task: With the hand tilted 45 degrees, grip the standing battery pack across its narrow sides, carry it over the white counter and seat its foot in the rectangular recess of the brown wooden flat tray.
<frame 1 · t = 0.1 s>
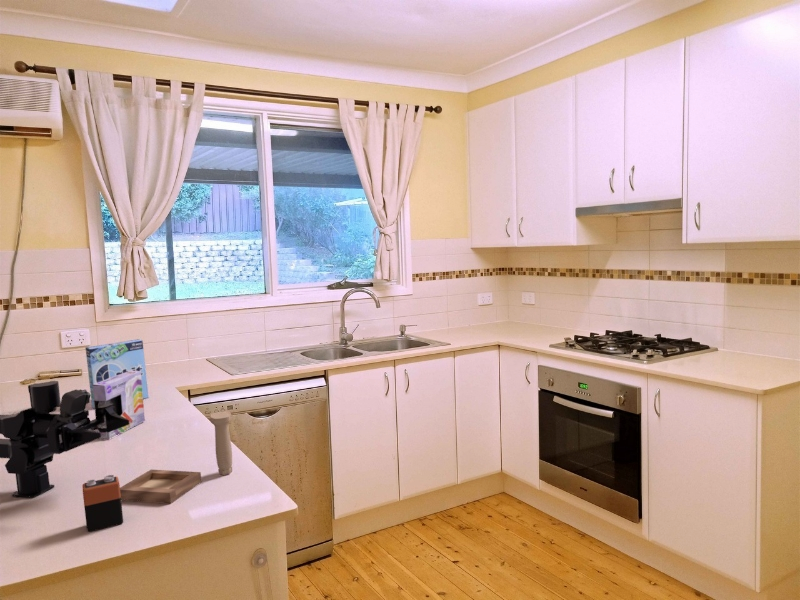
hand: (115, 428, 137), 17 cm above the worktop, tool horizontal, fingers open, 9 cm apart
light blue flat box: (120, 403, 228), on the worktop
battery: (105, 525, 126), on the worktop
handle: (225, 473, 151), on the worktop
brown wooden flat tray: (160, 490, 142), on the worktop
cake pan box: (121, 431, 192), on the worktop
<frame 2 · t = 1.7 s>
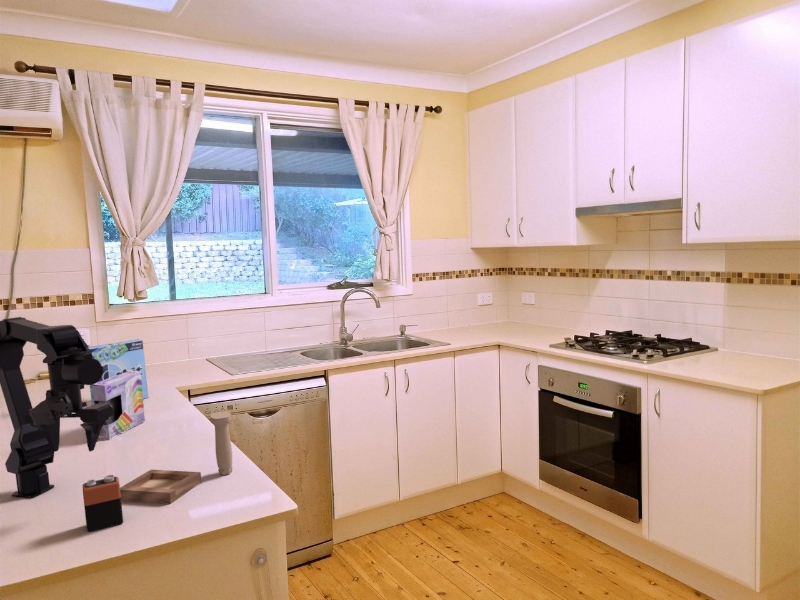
hand: (73, 451, 135), 13 cm above the worktop, tool pointing down, fingers open, 9 cm apart
nothing on the worktop moved.
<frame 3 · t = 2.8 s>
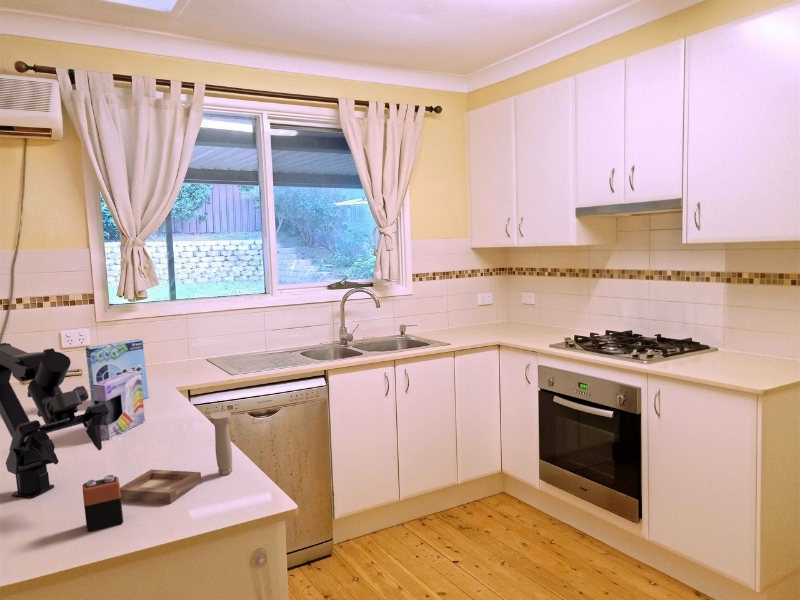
hand: (79, 456, 129), 13 cm above the worktop, tool tilted 45°, fingers open, 9 cm apart
nothing on the worktop moved.
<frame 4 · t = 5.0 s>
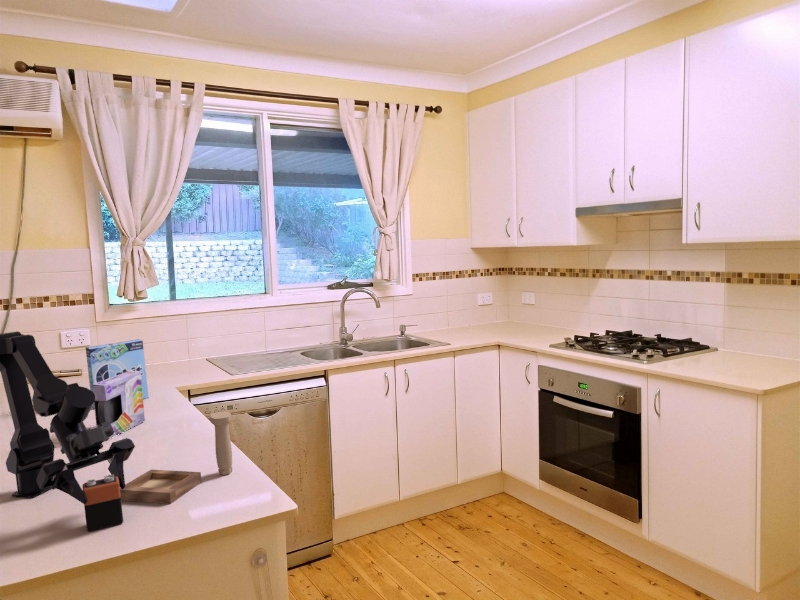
hand: (105, 495, 124), 7 cm above the worktop, tool tilted 45°, fingers closed on battery, 8 cm apart
battery: (105, 525, 126), on the worktop, touching gripper
everything else where it was.
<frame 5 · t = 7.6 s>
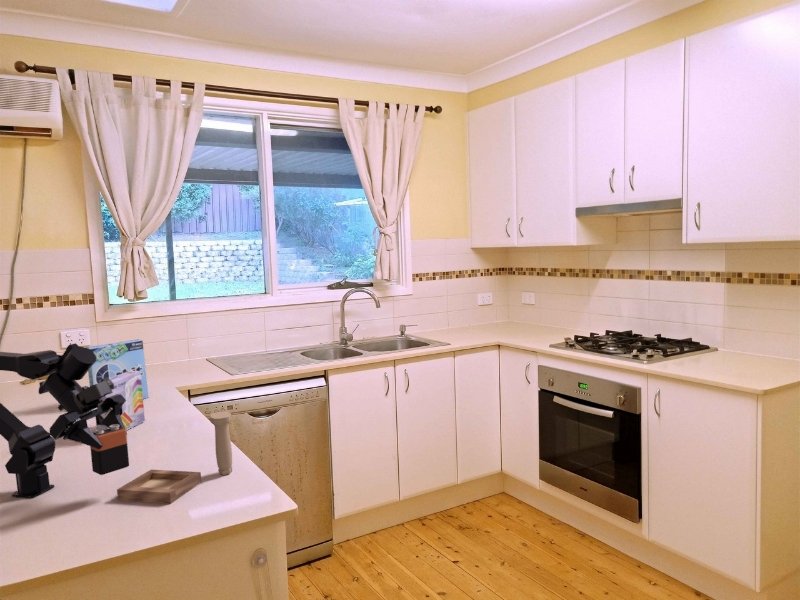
hand: (113, 441, 138), 13 cm above the worktop, tool tilted 45°, fingers closed on battery, 8 cm apart
battery: (111, 470, 139), point 6 cm above the worktop, touching gripper
everything else where it was.
when the fingers open (9 cm above the worktop, at t = 10.4 s): battery stays where it is, resting on brown wooden flat tray.
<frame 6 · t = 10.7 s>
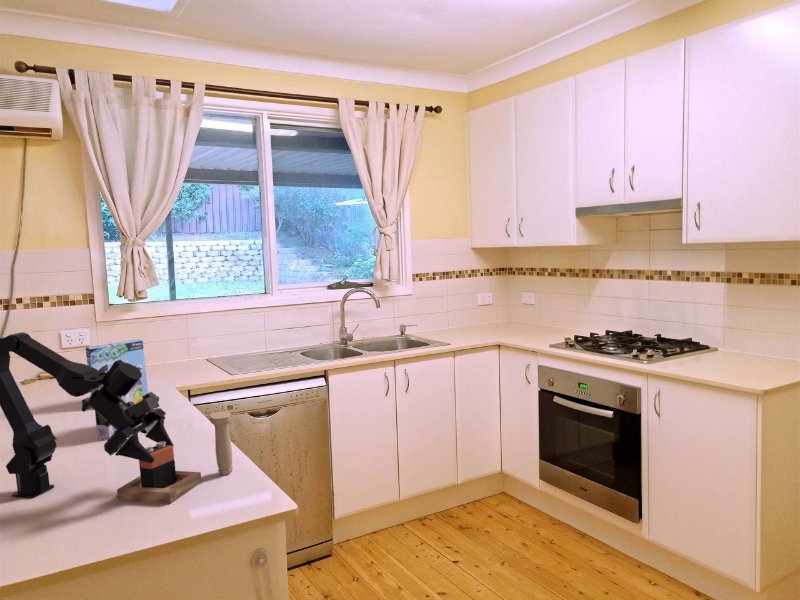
hand: (163, 454, 141), 9 cm above the worktop, tool tilted 45°, fingers open, 9 cm apart
battery: (159, 486, 142), point 1 cm above the worktop, touching brown wooden flat tray
everything else where it was.
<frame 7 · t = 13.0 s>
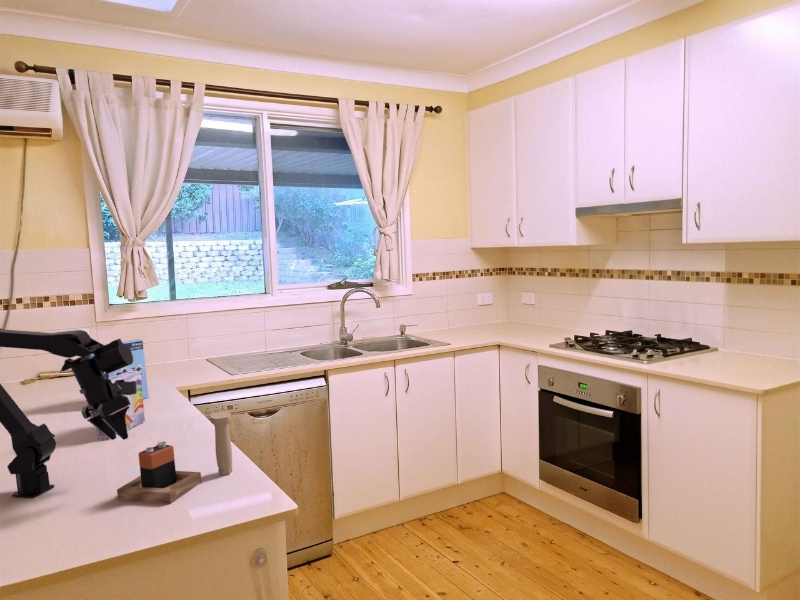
hand: (119, 438, 145), 12 cm above the worktop, tool tilted 20°, fingers open, 9 cm apart
nothing on the worktop moved.
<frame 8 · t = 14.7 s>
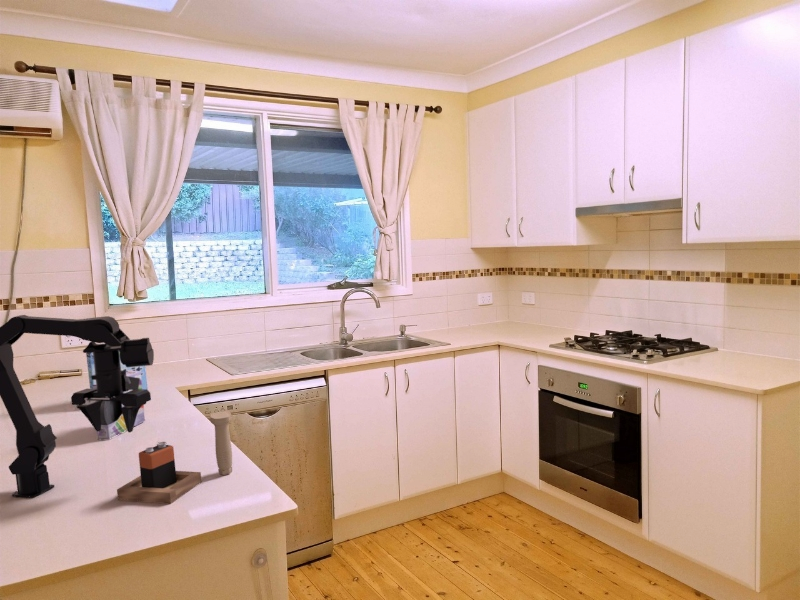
hand: (114, 431, 147), 13 cm above the worktop, tool pointing down, fingers open, 9 cm apart
nothing on the worktop moved.
at the end: battery 0.2 cm off-centre on the brown wooden flat tray, point 0.9 cm above the brown wooden flat tray's base; battery tilted 0°; the gripper is holding nothing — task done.
